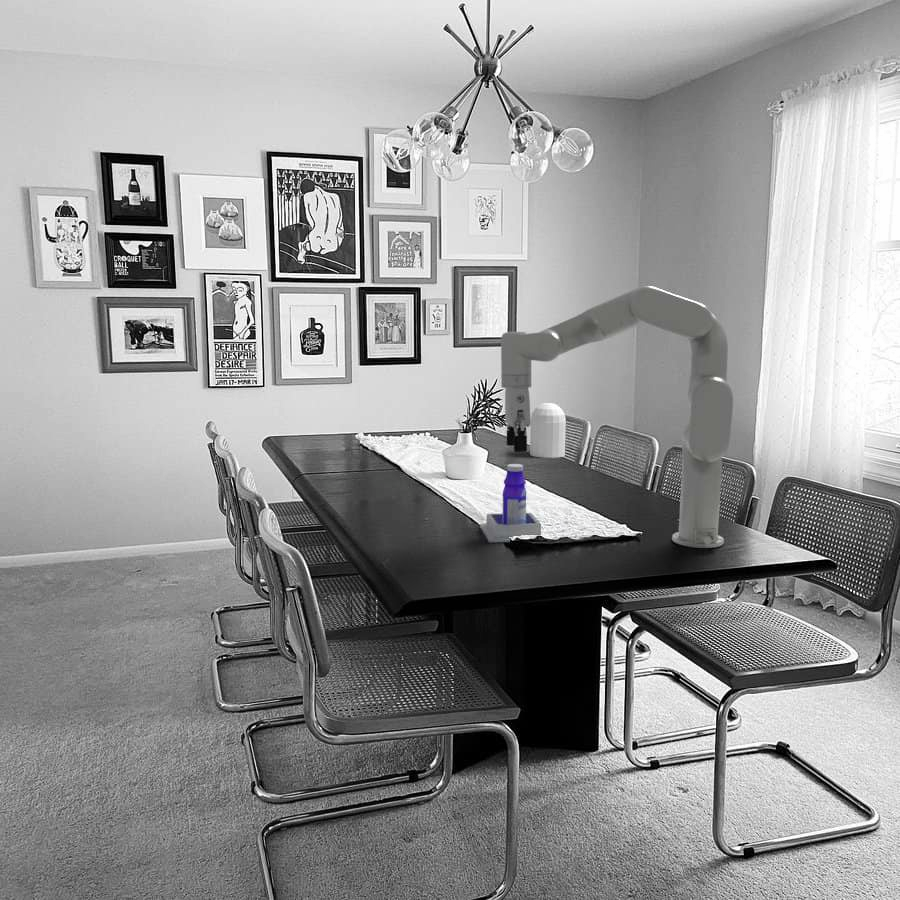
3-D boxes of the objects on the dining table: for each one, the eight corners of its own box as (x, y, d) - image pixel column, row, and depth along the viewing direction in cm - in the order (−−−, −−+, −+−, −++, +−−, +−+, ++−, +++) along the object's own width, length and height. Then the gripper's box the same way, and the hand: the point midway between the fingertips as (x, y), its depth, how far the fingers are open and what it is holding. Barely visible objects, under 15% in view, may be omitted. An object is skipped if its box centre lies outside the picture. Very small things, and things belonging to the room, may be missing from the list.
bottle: (520, 535, 235) (521, 468, 232) (498, 533, 237) (500, 466, 234) (528, 529, 241) (530, 463, 238) (508, 526, 243) (509, 461, 240)
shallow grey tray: (547, 540, 233) (548, 525, 232) (489, 542, 231) (489, 526, 230) (535, 525, 248) (535, 511, 247) (479, 527, 246) (480, 512, 245)
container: (525, 451, 359) (526, 400, 356) (558, 451, 362) (560, 400, 358) (535, 458, 346) (536, 405, 343) (569, 457, 349) (571, 404, 345)
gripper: (538, 384, 224) (538, 453, 227) (524, 377, 241) (524, 442, 244) (507, 385, 224) (508, 454, 226) (495, 378, 240) (496, 443, 243)
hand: (516, 448), depth 235 cm, fingers open, 9 cm apart
